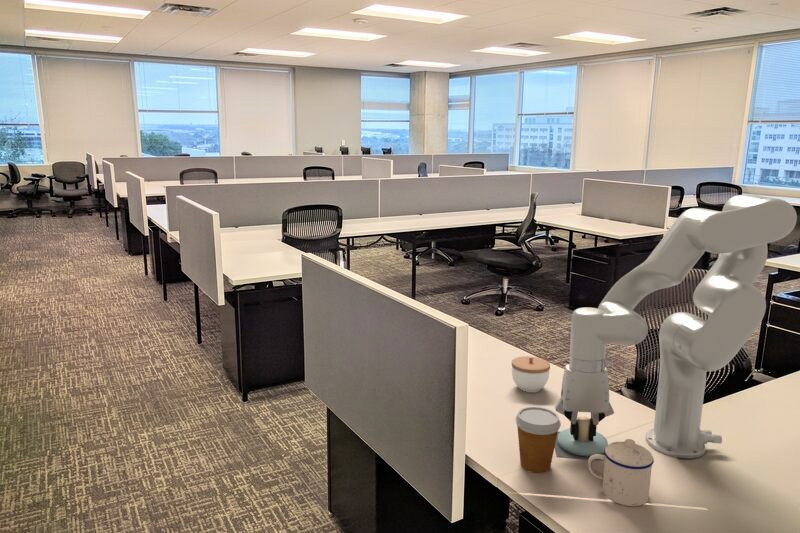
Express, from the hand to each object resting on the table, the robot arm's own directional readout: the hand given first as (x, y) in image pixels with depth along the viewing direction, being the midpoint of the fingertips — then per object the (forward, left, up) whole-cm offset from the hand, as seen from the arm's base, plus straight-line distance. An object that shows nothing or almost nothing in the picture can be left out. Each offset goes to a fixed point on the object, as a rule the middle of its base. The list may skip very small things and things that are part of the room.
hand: (582, 437), depth 133 cm
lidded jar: (+9, -32, -3) cm, 33 cm away
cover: (0, 0, -2) cm, 2 cm away
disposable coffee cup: (+11, +10, -3) cm, 15 cm away
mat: (0, 0, -2) cm, 2 cm away
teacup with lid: (-4, +17, -3) cm, 18 cm away
